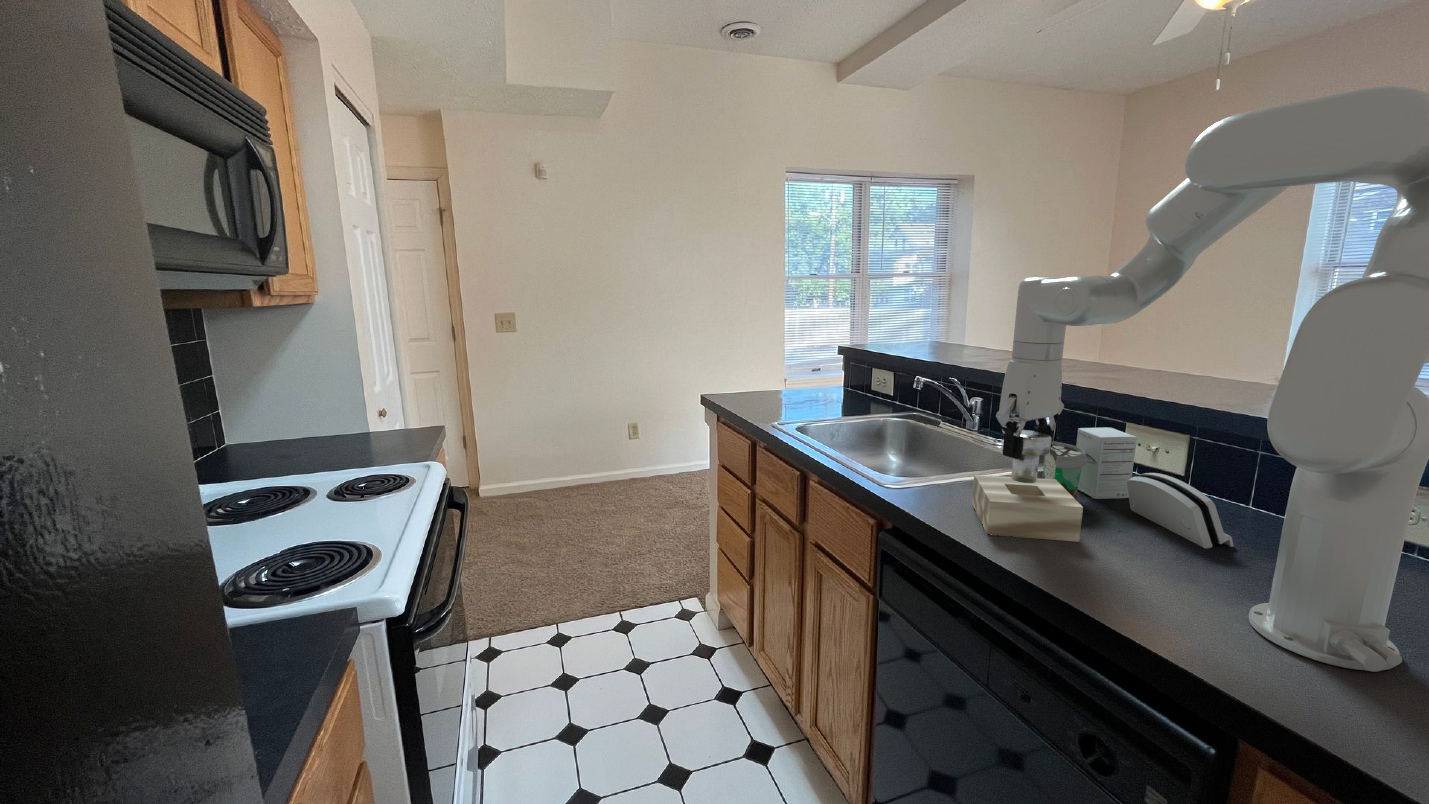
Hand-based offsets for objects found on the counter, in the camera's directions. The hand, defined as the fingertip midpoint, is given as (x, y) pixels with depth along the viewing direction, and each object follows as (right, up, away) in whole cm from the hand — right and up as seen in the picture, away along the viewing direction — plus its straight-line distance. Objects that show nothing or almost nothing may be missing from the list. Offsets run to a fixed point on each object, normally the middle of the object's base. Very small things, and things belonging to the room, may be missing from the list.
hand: (1026, 453), depth 104 cm
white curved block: (+25, -13, -1) cm, 28 cm away
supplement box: (+23, -10, +16) cm, 30 cm away
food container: (+14, -10, +13) cm, 22 cm away
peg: (0, -5, +1) cm, 5 cm away
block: (0, -12, +2) cm, 13 cm away
